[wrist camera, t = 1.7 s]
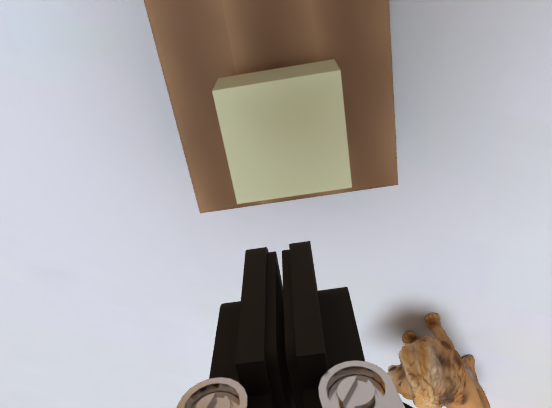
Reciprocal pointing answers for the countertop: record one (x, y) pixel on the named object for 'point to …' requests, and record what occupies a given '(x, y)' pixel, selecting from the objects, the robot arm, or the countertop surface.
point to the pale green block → (284, 131)
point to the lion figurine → (436, 372)
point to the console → (271, 55)
